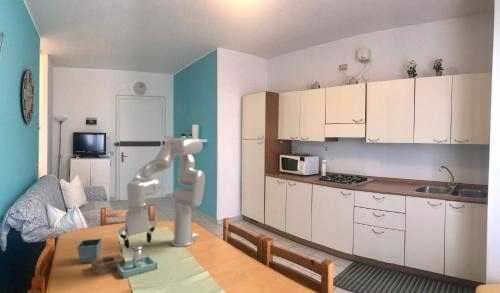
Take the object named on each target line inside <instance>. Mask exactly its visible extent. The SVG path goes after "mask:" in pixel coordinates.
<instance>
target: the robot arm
mask: <svg viewBox="0 0 500 293" xmlns="http://www.w3.org/2000/svg"><path fill="white" fill-rule="evenodd" d="M203 147H204V146H203V141H202V140H201V139H200V138H193V137H191V138H190V137H189V138H188V137H179V138H170V139H167V140H166V141H165V142H164V144H163V145H162V146H161V148H160V150H159V152H158V153H157V155H156V156H155V158H153V159H152V160H150V161H149V162H147V163H145V165H143V166H142V167H141V168H139V169H138V171H137V172H136V173H135V175H134V177H133V178H132V180H131V181H130V182H128V183H127V184H126V193H127V195H126V196H127V211H126V212H125V218H124V226H122V227H121V228H119V229H118V230H117V234H118V236H119V237H120V238H121V239H123V242H124V243H123V244H124V247H125V248H126V249H127V250H128V249H130V240H129V238H130V237H131V236H132V235H133V236H134V235H137V234H142V233H145V232H146V242H147V243H148V244H150V243H151V242H152V234H153V233H154V231H155V229H156V226H157V223H156V222H154V221H151V220H150V218H149V213H148V212H149V211H148V209H147V208H149V203H146V196H151V195H156V194H157V193H159V192H160V190H161V189H162V188H161V187H162V184H161V182H160V180H158V179H156V178H150V177H151V176H153V175H155V174H157V173H160V172H163V171H166V170H168V169H170V167H171V166H172V163H173V162H174V160H175V158H176V157H177V156H178V157H179V168H178V173H177V183H178V184H179V185H180V186H185V187H177V188H175V189H174V190H173V192H172V193H171V194H172V195H171V199H172V205H173V238H172V240H171V241H170V244H171V245H172V246H174V247H177V248H178V247H182V248H183V247H188V246H191V245H193V244H194V243H195V242H194V241H195V238H198V237H199V234H200V233H194V232H193V233H192V212H191V208H190V207H198V206H200V205H201V204H202V202H203V197H204V192H205V184H206V183H205V182H206V176H205V172H204V171H203V170H200V169H195V166H196V165H195V164H196V163H195V162H196V161H195V157H194V156H193V155H195V154H196V155H197V154H199V153H201V152H202V150H203ZM186 186H187V187H188V188H187V187H186ZM189 187H192V188H189ZM150 225H151V226H150ZM123 232H125V234H123Z"/></svg>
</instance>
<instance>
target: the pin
mask: <svg viewBox="0 0 500 293" xmlns="http://www.w3.org/2000/svg"><path fill="white" fill-rule="evenodd" d="M142 249H143V245H142V244H135V245H132V246H131V250H132V259H133V269H135V268H139V267H141V257H142Z"/></svg>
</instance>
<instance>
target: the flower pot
mask: <svg viewBox="0 0 500 293" xmlns="http://www.w3.org/2000/svg"><path fill="white" fill-rule="evenodd" d="M102 240H103V239H102V238H97V239H85V240H81V242H80V243H79V244H78V246H77V253H78V257H79V259H80V261H81V262H82V264H87V263H88V264H89V263H92V260H93V259H97V258H99V256H100V252H101V247H102Z"/></svg>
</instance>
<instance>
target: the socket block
mask: <svg viewBox="0 0 500 293" xmlns="http://www.w3.org/2000/svg"><path fill="white" fill-rule="evenodd" d="M125 261H126V260H125V258H124V257H123V256H122V255H121V253H115V254H111V255H106V256H101V257H97V259H93V260H92V262H91V270H92V271H93V273H94V275H95V276H96V277H97V276H101V275H104V274H108V273H111V272H115V271H117V264H119V265H120V266H121V268H122V267H125Z"/></svg>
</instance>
